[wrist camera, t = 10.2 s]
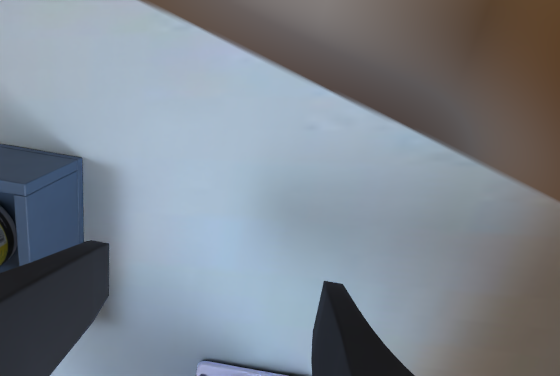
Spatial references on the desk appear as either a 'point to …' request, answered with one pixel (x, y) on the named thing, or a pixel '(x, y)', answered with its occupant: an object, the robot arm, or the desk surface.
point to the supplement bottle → (7, 236)
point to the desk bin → (41, 202)
